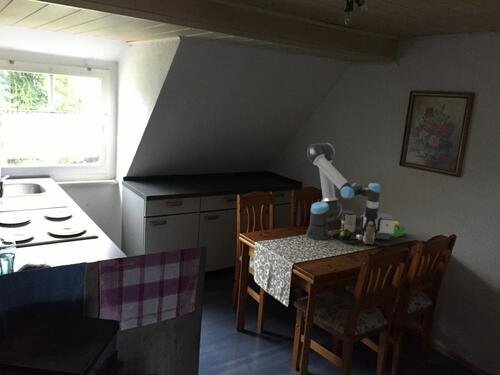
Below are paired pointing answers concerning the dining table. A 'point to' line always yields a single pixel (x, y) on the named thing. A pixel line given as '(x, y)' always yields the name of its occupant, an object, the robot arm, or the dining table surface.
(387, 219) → the cabinet
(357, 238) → the steel puck
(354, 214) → the clear glass jar
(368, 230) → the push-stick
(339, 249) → the dining table surface
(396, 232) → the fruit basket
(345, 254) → the dining table surface
